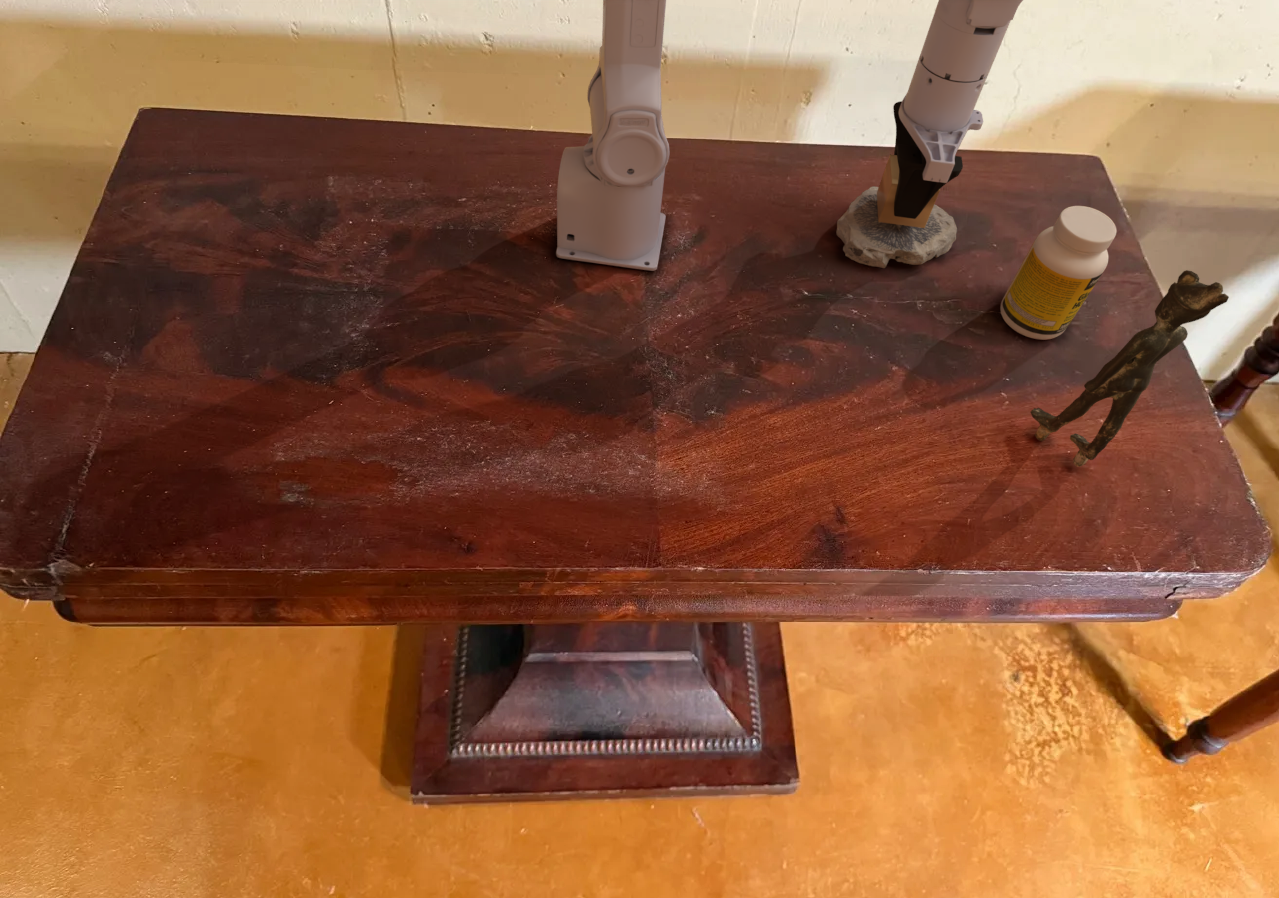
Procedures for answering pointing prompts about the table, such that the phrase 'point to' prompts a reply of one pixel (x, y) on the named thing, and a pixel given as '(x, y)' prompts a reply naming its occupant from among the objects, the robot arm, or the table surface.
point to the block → (888, 197)
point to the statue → (1134, 364)
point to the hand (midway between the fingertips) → (903, 198)
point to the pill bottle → (1058, 273)
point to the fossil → (892, 235)
